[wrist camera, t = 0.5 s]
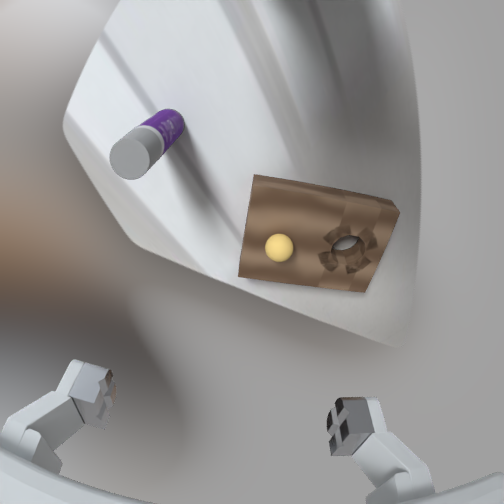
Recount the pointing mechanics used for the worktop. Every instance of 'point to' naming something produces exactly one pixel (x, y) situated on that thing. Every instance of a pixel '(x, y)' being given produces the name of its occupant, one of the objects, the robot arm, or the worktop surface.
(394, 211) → the board
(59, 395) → the robot arm
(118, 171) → the container
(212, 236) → the worktop surface
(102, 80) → the worktop surface
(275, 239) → the ball
